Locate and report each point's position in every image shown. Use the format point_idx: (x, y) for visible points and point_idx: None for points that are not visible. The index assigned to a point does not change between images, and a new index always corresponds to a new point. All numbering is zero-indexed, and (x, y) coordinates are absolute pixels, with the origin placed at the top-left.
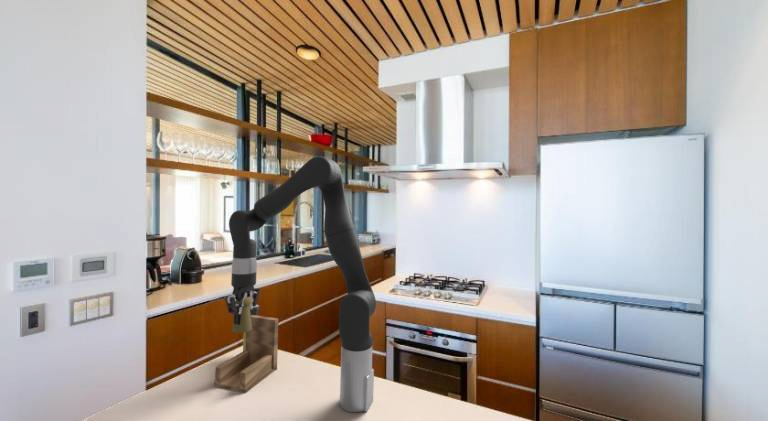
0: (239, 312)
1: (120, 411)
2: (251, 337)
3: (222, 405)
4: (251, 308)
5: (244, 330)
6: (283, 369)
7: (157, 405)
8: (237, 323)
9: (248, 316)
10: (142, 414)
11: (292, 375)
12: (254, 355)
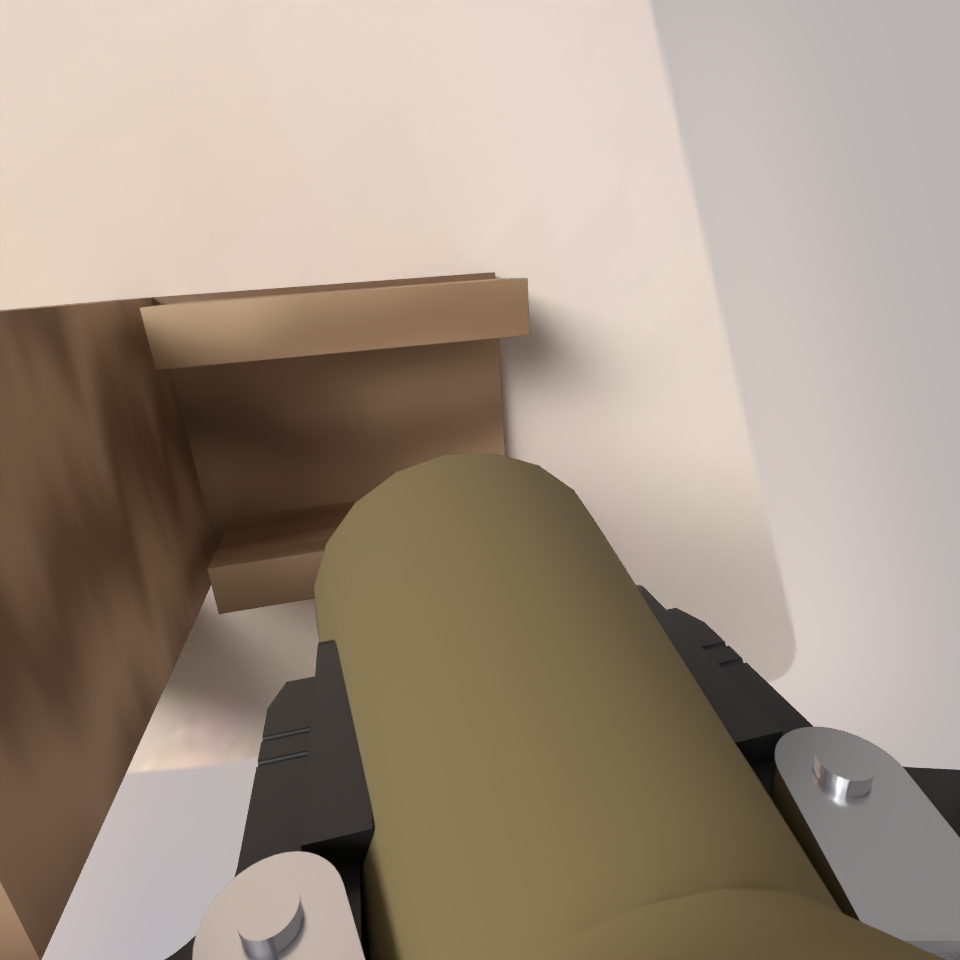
0: (883, 770)
1: (782, 666)
2: (134, 642)
3: (637, 302)
4: (291, 889)
5: (553, 485)
6: (77, 240)
7: (719, 590)
8: (693, 618)
9: (530, 616)
10: (781, 578)
11: (109, 81)
12: (179, 516)
